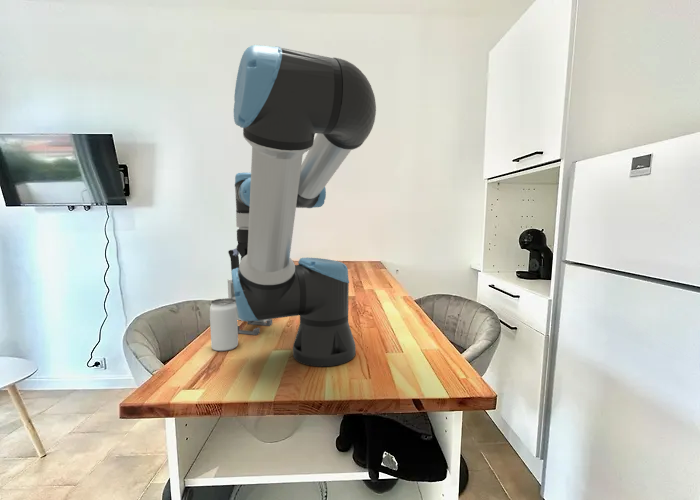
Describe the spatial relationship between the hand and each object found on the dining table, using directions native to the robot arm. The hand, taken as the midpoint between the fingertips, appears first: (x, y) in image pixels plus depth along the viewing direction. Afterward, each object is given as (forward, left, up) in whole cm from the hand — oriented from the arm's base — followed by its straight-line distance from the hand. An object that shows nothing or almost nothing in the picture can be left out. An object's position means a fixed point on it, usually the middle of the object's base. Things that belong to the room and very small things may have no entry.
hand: (252, 307), depth 103 cm
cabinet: (+4, +4, -6) cm, 8 cm away
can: (-15, 0, -6) cm, 16 cm away
